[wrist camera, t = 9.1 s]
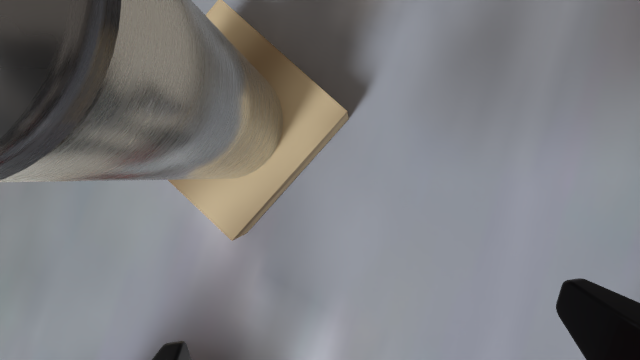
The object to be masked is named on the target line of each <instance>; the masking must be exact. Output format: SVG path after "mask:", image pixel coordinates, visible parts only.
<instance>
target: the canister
mask: <svg viewBox="0 0 640 360" xmlns="http://www.w3.org/2000/svg"><path fill="white" fill-rule="evenodd" d="M282 129H283V113H282V107H281V104H280V100H279V98H278V96H277V94H276V92H275V90H274V89H273V87H272V86H271V85H270V83H269V82H268V81H267V80H266V79H265V78H264V77H263V76H262V75H261V74H260V73H259V72H258V70H257V69H256V68H255V67H254V66H253V65H252V64H251V63H250V62H249V61H248V60H247V59H246V58H245V57H244V56H243V55H242V54H241V52H240V51H239V50H238V49H237V48H236V47H235V46H234V45H233V44H232V43H231V42H230V41H229V40H228V39H227V38H226V37H225V36H224V34H223V33H222V32H221V31H220V30H219V29H218V28H217V27H216V26H215V25H214V24H213V23H212V22H211V21H210V20H209V19H208V18H207V16H206V15H205V14H204V13H203V12H202V11H201V10H200V9H199V8H198V7H197V6H196V5H195V4H194V3H193V2H192V1H191V0H0V182H45V181H113V180H180V179H233V178H239V177H243V176H246V175H248V174H250V173H253V172H254V171H256V170H257V169H259V168H260V167H261V166H263V165H264V164H265V163H266V162H267V161H268V160H269V159H270V157H271V156H272V155H273V153H274V152H275V150H276V148H277V146H278V144H279V141H280V138H281V134H282Z"/></svg>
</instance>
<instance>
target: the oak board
mask: <svg viewBox="0 0 640 360" xmlns="http://www.w3.org/2000/svg"><path fill="white" fill-rule="evenodd" d="M206 16H207V18H208V19H209V20H210V21H211V22H212V23H213V24H214V25H215V26H216V27H217V28H218V29H219V30H220V31H221V32H222V33H223V34H224V36H225V37H226V38H227V39H228V40H229V41H230V42H231V43H232V44H233V45H234V46H235V47H236V48H237V49H238V50H239V51H240V52H241V54H242V55H243V56H244V57H245V58H246V59H247V60H248V61H249V62H250V63H251V64H252V65H253V66H254V67H255V68H256V69H257V70H258V72H259V73H260V74H261V75H262V76H263V77H264V78H265V79H266V80H267V81H268V82H269V83H270V85H271V86H272V87H273V89H274V90H275V92H276V94H277V96H278V98H279V100H280V104H281V107H282V113H283V129H282V134H281V138H280V141H279V144H278V146H277V148H276V150H275V152H274V153H273V155H272V156H271V157H270V159H269V160H268V161H267V162H266V163H265V164H264V165H263V166H261V167H260V168H259V169H257V170H256V171H254V172H253V173H250V174H248V175H246V176H243V177H239V178H233V179H180V180H168V181H169V182H171V183H172V184H173V185H174V186H175V187H176V188H177V189H178V190H179V191H180V192H181V193H182V194H183V195H184V196H185V197H186V198H187V199H188V200H189V201H191V202H192V203H193V204H194V205H195V206H196V207H197V208H198V209H199V210H200V211H201V212H202V213H203V214H204V215H205V216H206V217H207V218H208V219H209V220H210V221H212V222H213V223H214V224H215V225H216V226H217V227H218V228H219V229H220V230H221V231H222V232H223V233H224V234H225V235H226V236H227V237H228V238H229V239H230V240H232V241H233V240H235V239H237V238H238V237H240V236H242V235H244V234H246V233H247V232H248V231H249V230H250V229H251V228H252V227H253V226H254V224H255V223H256V222H257V221H258V220H259V219H260V218H261V217H262V216H263V214H264V213H265V212H266V211H267V210H268V209H269V208H270V207H271V205H272V204H273V203H274V202H275V201H276V200H277V199H278V198H279V197H280V195H281V194H282V193H283V192H284V191H285V190H286V189H287V188H288V186H289V185H290V184H291V183H292V182H293V181H294V180H295V179H296V178H297V176H298V175H299V174H300V173H301V172H302V171H303V170H304V169H305V167H306V166H307V165H308V164H309V163H310V162H311V161H312V160H313V159H314V157H315V156H316V155H317V154H318V153H319V152H320V151H321V150H322V148H323V147H324V146H325V145H326V144H327V143H328V142H329V141H330V140H331V138H332V137H333V136H334V135H335V134H336V133H337V132H338V131H339V129H340V128H341V127H342V126H343V125H344V124H345V123H346V122H347V121H348V119H349V118H348V112H347V111H346V110H345V109H344V108H343V107H342V106H341V105H340V104H338V103H337V102H336V101H335V100H334V99H333V98H332V97H331V96H329V95H328V94H327V93H326V92H325V91H324V90H323V89H322V88H320V87H319V86H318V85H317V84H316V83H315V82H314V81H313V80H311V79H310V78H309V77H308V76H307V75H306V74H305V73H304V72H302V71H301V70H300V69H299V68H298V67H297V66H296V65H294V64H293V63H292V62H291V61H290V60H289V59H288V58H287V57H285V56H284V55H283V54H282V53H281V52H280V51H279V50H278V49H276V48H275V47H274V46H273V45H272V44H271V43H270V42H269V41H267V40H266V39H265V38H264V37H263V36H262V35H261V34H260V33H258V32H257V31H256V30H255V29H254V28H253V27H252V26H251V25H249V24H248V23H247V22H246V21H245V20H244V19H243V18H242V17H240V16H239V15H238V14H237V13H236V12H235V11H234V10H233V9H231V8H230V7H229V6H228V5H227V4H226V3H225V2H223V1H222V0H218V1H217V2H216V3H215V5H214V6H213V7H212V8H211V9H210V11H209V12H208V13H207V14H206Z"/></svg>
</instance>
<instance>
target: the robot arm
mask: <svg viewBox="0 0 640 360" xmlns="http://www.w3.org/2000/svg"><path fill="white" fill-rule="evenodd" d="M556 310H557V313H558V315H559V317H560V319H561V320H562V322H563V324H564V325H565V327H566V328H567V330H568V331H569V333H570V335H571V336H572V338H573V339H574V341H575V343H576V344H577V346H578V347H579V349H580V350H581V352H582V354H583V355H584V357H585V358H586V360H640V303H638V302H636V301H634V300H632V299H629V298H627V297H625V296H622V295H620V294H618V293H615V292H613V291H611V290H608V289H606V288H604V287H602V286H599V285H597V284H595V283H592V282H590V281H588V280H585V279H572V280H567V281H565V282H564V283H563V284H562V287H561V290H560V293H559V297H558V300H557V304H556ZM152 360H191V357H190V354H189V351H188V348H187V345H186V343H185V342H184V341H179V342H172V343H167V344H165V345H164V346H163V347H162V348H161V349H160V350H159V352H158V353H157V354H156V355H155V357H154V358H153V359H152Z"/></svg>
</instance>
